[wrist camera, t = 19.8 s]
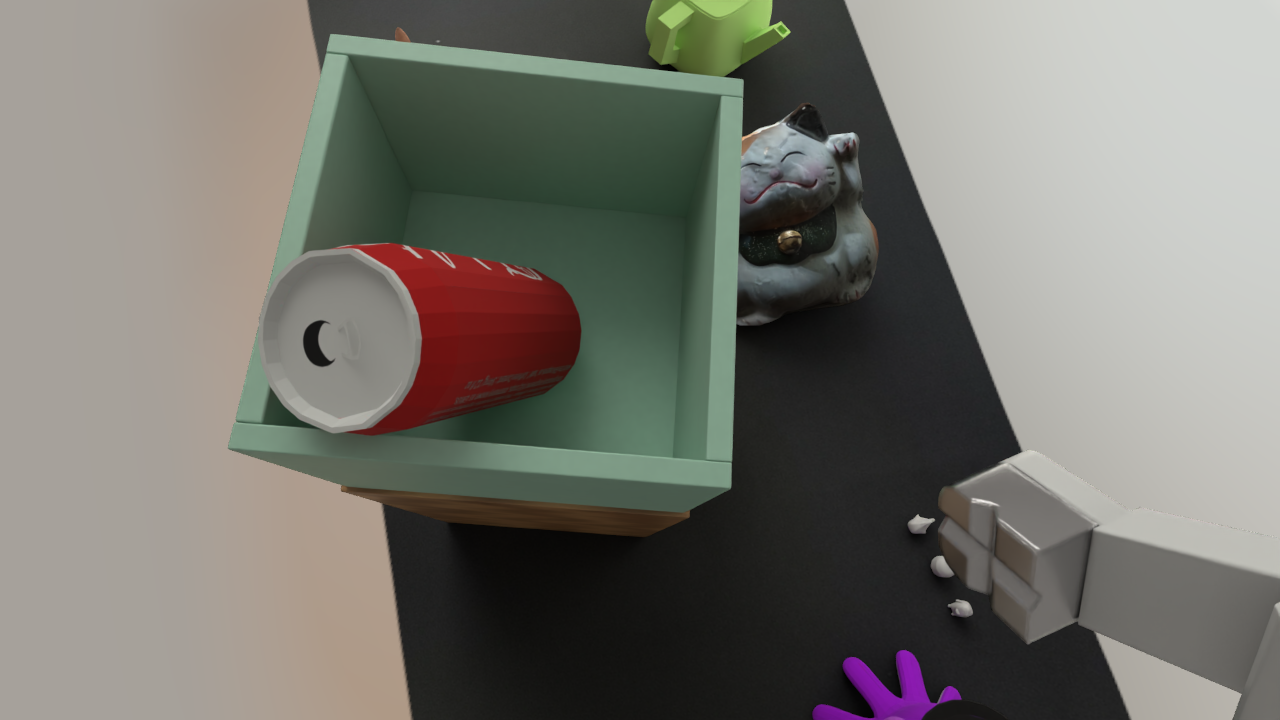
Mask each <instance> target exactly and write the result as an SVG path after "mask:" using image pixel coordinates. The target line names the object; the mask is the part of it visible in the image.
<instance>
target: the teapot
mask: <svg viewBox="0 0 1280 720" xmlns="http://www.w3.org/2000/svg"><path fill="white" fill-rule="evenodd" d="M771 11H772V0H653V1H652V3H651V6H650V9H649V13H648V16H647V20H646V26H645V27H646V35H647V38H648V40H649V42H650V44H651V46H650V50H649V53H648V54H649V55H650V56H651V57H652V58H653V59H655V60H656V61H657V62H658V63H659V64H660V65H663V64H671V65H672V66H673V67H674V68H676V69H677V70H678V71H680V72H681V73H690V74H699V75H708V76H717V77H724V76H726V75H727V74H729V73H730V72H732V71H733V70H735V69H736V68H738V67H739V66H740V65H741V64H744V63H745V62H747V61H749V60H750V59H752V58H754V57H755V56H757V55H758V54H760V53H762V52H763V51H765V50H766V49H768V48H770V47H771V46H773V45H775V44H776V43H778V42H779V41H781V40H783V39H784V38H785V37H786V36H787V35H788V34H790V32H791V31H790V30H789V29H788V28H787V27H786V26H785V25H784V24H783V23H782V22H781V21H780V22H779V23H778V24H775V25H772V26H769V22H770V17H771ZM768 26H769V27H768Z"/></svg>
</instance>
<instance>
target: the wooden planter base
mask: <svg viewBox="0 0 1280 720" xmlns="http://www.w3.org/2000/svg"><path fill="white" fill-rule="evenodd" d="M341 491H342V492H346V493H349V494H353V495H356V496H360V497H363V498H366V499H370V500H373V501H377V502H380V503H383V504H387V505H390V506H394V507H397V508H401V509H404V510H407V511H411V512H414V513H418V514H421V515H425V516H428V517H431V518H435V519H438V520H442V521H445V522H451V523H464V524H477V525H491V526H504V527H517V528H530V529H544V530H557V531H570V532H583V533H596V534H610V535H623V536H636V537H647V536H649V535H652V534H654V533H656V532H658V531H660V530H663V529H665V528H667V527H669V526H672V525H674V524H676V523H678V522H680V521H683V520H685V519H687V518H689V514H690V510H689V511H686V512H684V513H680V512H667V511H654V510H641V509H628V508H615V507H603V506H590V505H577V504H564V503H551V502H538V501H525V500H512V499H499V498H487V497H474V496H461V495H448V494H435V493H422V492H409V491H396V490H384V489H371V488H358V487H347V486H343V485H342V486H341Z"/></svg>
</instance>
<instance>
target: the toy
mask: <svg viewBox="0 0 1280 720" xmlns="http://www.w3.org/2000/svg"><path fill="white" fill-rule="evenodd" d="M896 666H897V672H898V677H899V681H900V686H901V693H902V698H901V699H900V698H898V697H896V696H895V695H893V694H892V693H891V692H890V691H889V690H888V689H887V688H886V687H885V686H884V685H883V684H882V683H881V682H880V680H879V679H878V678H877V677H876V676H875V675H874V673H873V672H872V671H871V670H870V669H869V668H868V667H867V666H866V665H865V663H864V662H862V661H861V660H860V659H858V658H855V657H849V658H847V659H846V660H845V661H844V663H843V670H844V672H845V674H846V676H847V677H848V678H849V680H850V681H851V682H852V684H853V685H854V686H855V687H856V689H857V690H858V691H859V692H860V694H861V695H862V696H863V697H864V699H865V700H866V701H867V703H868V704H869V705H870V707H871V709H872V711H873V712H874V718H870V719H869V718H864V717H860V716H857V715H854V714H851V713H848V712H846V711H843V710H840V709H838V708H835V707H832V706H829V705H823V704H821V705H817V706H816V707H815V708H814V710H813V720H1009V719H1008V718H1006V717H1005V716H1004V715H1003V714H1002V713H1000V712H998V711H996V710H995V709H993V708H991V707H989V706H987V705H986V704H982V703H979V702H975V701H972V700H961V697H960V694H959V692H958V691H957V690H956V689H955V688H953V687H952V686H948V687H946V688H945V689H944V690H943V692H942V694H941V696H940V698H939V700H938V703H931V702H930V700H929V698H928V696H927V694H926V690H925V687H924V683H923V679H922V675H921V670H920V667H919V664H918V662H917V660H916V658H915V656H914V655H913V654H912V653H910V652H908V651H906V650H901V651H899V652H898V653H897V655H896Z"/></svg>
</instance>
